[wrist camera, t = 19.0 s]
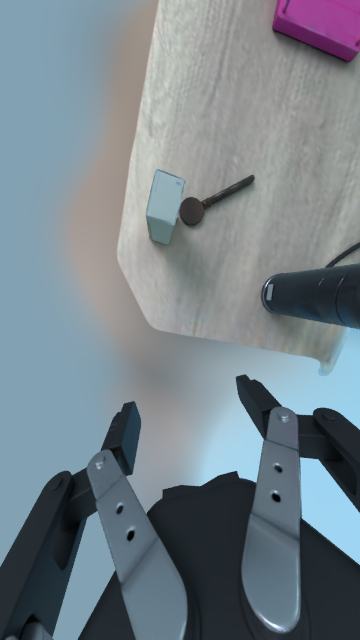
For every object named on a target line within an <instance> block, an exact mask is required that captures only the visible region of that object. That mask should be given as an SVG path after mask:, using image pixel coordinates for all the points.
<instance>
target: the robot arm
mask: <svg viewBox="0 0 360 640" xmlns="http://www.w3.org/2000/svg"><path fill="white" fill-rule="evenodd" d="M359 247H360V242H359V243H358V244H356V245H354V246H353V247H351V248H350V249H348V250H347V251H345V252H344V253H342V254H341V255H339V256H338V257H337V258H335V259H334V260H333V261H332V262H331V263H329V264H328V265H327V266H326V268H322V269H315V270H307V271H300V272H292V273H281V274H276V275H274V276H272V277H271V278H269V279H268V280H267V281H266V283H265V284H264V286H263V289H262V294H261V298H262V302H263V305H264V307H265V308H266V309H267V310H268V311H270V312H272V313H276V314H283V315H288V316H293V317H298V318H303V319H308V320H314V321H319V322H324V323H329V324H335V325H340V326H345V327H350V328H356V329H360V263H358V264H351V265H344V266H337V267H332V266H334V265H335V264H336V263H337V262H338V261H340V260H341V259H342V258H344V257H345V256H347V255H348V254H350V253H351V252H353V251H354V250H356V249H357V248H359ZM236 382H237V390H238V395H239V398H240V401H241V403H242V404H243V406H244V407H245V409H246V411H247V412H248V414H249V416H250V417H251V419H252V421H253V422H254V424H255V426H256V427H257V429H258V431H259V432H260V433H261V436H262V437H263V438H264V441H263V447H262V453H261V460H260V466H259V472H258V478H257V483H255V482H253V481H250V480H247V479H243V478H239V476H238V474H237V471H235V472H230V473H227V474H223V475H219V476H217V477H215V478H214V479H212V480H211V481H209V482H207V483H206V484H204V485H202V486H187V485H179V486H176V487H172V488H168V489H164V490H163V498H162V499H160V500H159V501H158V502H156V503H155V504H154V505H153V506H152V507H151V509H150V510H149V511H148V512H147V514H146V513H145V511H144V509H143V507H142V506H141V504H140V502H139V500H138V498H137V496H136V495H135V493H134V491H133V489H132V487H131V485H130V483H129V482H128V480H127V478H126V476H128V475H132V474H133V468H134V463H135V457H136V451H137V446H138V440H139V434H140V428H141V418H140V415H139V412H138V409H137V407H136V403H135V402H134V401H133V402H129V403H125V404H124V405H123V407H122V410H121V412H118V413H117V414H116V416H115V417H114V418H113V420H112V422H111V426H110V428H109V430H108V433H107V435H106V438H105V440H104V443H103V446H102V448H101V451H100V452H99V453H97V454H96V455H95V456H94V457H93V458H92V459H91V460H90V462H89V464H88V466H87V468H85V469H83V470H81V471H80V472H78V473H76V474H74V475H71V473H70V472H69V471H63V472H60V473H58V474H57V475H55V476H54V477H53V478H52V479H51V480H50V481H49V482H48V483H47V484H46V486H45V487H44V488H43V490H42V492H41V494H40V496H39V497H38V499H37V501H36V503H35V505H34V507H33V508H32V510H31V512H30V514H29V516H28V518H27V519H26V521H25V523H24V525H23V527H22V529H21V530H20V532H19V534H18V536H17V538H16V540H15V541H14V543H13V545H12V547H11V549H10V551H9V552H8V554H7V556H6V558H5V560H4V561H3V563H2V565H1V567H0V640H54V639H53V638H52V636H53V633H54V630H55V626H56V623H57V619H58V616H59V613H60V609H61V606H62V602H63V599H64V596H65V592H66V588H67V585H68V582H69V578H70V575H71V572H72V568H73V565H74V561H75V558H76V555H77V551H78V548H79V544H80V541H81V537H82V534H83V531H84V527H85V524H86V520H87V517H89V516H90V515H92V514H93V513H94V512H96V511H98V514H99V517H100V520H101V523H102V526H103V530H104V533H105V536H106V539H107V543H108V546H109V549H110V552H111V556H112V559H113V562H114V565H115V569H116V570H115V572H114V574H113V575H112V577H111V579H110V581H109V583H108V585H107V586H106V588H105V590H104V592H103V594H102V595H101V597H100V599H99V601H98V603H97V605H96V607H95V608H94V611H93V612H92V614H91V616H90V618H89V619H88V621H87V623H86V625H85V627H84V629H83V630H82V632H81V634H80V636H79V638H78V640H360V565H359V564H358V563H356V562H355V561H354V560H353V559H352V558H350V557H349V556H348V555H347V554H345V553H344V552H343V551H342V550H340V549H339V548H338V547H337V546H335V545H334V544H333V543H332V542H330V541H329V540H328V539H327V538H326V537H324V536H323V535H322V534H321V533H319V532H318V531H317V530H316V529H314V528H313V527H312V526H311V525H310V524H308V523H307V522H306V521H305V520H303V519H302V503H301V477H300V476H301V475H300V474H301V473H300V457H302V458H313V459H319V461H320V462H321V463H322V465H323V466H324V467H325V468H326V470H327V471H328V472H329V474H330V475H331V476H332V477H333V479H334V480H335V481H336V483H337V484H338V485H339V486H340V488H341V489H342V490H343V492H344V493H345V494H346V496H347V497H348V498H349V499H350V501H351V502H352V503H353V505H354V506H355V507H356V508H357V510H358V511H359V512H360V430H359V429H358V428H357V427H356V426H354V425H353V424H352V423H351V422H350V421H348V420H347V419H346V418H345V417H344V416H343V415H341V414H340V413H338V412H337V411H335V410H332V409H328V408H317V409H315V410H314V412H313V415H297V414H295V413H294V412H293V411H292V410H290V409H288V408H285V407H282V406H281V404H279V402H278V401H277V400H276V399H275V398H274V397H273V396H272V395H271V393H269V391H268V390H267V389H266V388H265V387H264V386H263V385H262V383H260V382H258V381H256V380H250V379H249V378H248V376H246V375H241V376H237V377H236Z"/></svg>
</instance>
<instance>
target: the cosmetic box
mask: <svg viewBox="0 0 360 640" xmlns="http://www.w3.org/2000/svg"><path fill="white" fill-rule="evenodd" d="M185 183H186V180H185V179H182V178H180V177H177V176H175V175H172V174H170V173H168V172H165V171H162V170H159V169H156V171H155V175H154V179H153V183H152V187H151V191H150V196H149V201H148V205H147V211H146V219H147V225H148V232H149V238H150V239H152V240H154V241H157V242H160V243H163V244H166V245H169V244H170V240H171V237H172V233H173V230H174V226H175V223H176V219H177V215H178V212H179V208H180V204H181V200H182V196H183V192H184V187H185Z"/></svg>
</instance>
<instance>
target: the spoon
mask: <svg viewBox="0 0 360 640" xmlns="http://www.w3.org/2000/svg"><path fill="white" fill-rule="evenodd" d="M254 179H255V177H254V175H251V176H249V177H247V178H245V179H243V180H241V181H240V182H238V183H236V184H234V185H232V186H230V187H228V188H227V189H225V190H223V191H221V192H219V193H217V194H216V195H214V196H212V197H210V198H207V199H205V200H204V201H202V202H200V201H199V200H198V199H196V198H194V197H189V198H186V199H185V200H184V201H183V202H182V203H181V205H180V209H179V214H180V218H181V219H182V221H183V222H184V223H185V224H187V225H196V224H198V223H199V222H200V221H201V219H202V217H203V214H204V209H206V208H208V207H210V206H211V204H213V203H215V202H217V201H218V200H220V199H222V198H224V197H226V196H228V195H229V194H231V193H233V192H235V191H237V190H239V189H241V188H242V187H244V186H246V185H248V184H250V183H252V182H253V181H254Z"/></svg>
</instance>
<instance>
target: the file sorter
mask: <svg viewBox="0 0 360 640" xmlns="http://www.w3.org/2000/svg"><path fill="white" fill-rule="evenodd" d="M272 27H273V29H274V30H277V31H279V32H282V33H284V34H287V35H289V36H291V37H294V38H296V39H298V40H301V41H303V42H305V43H308V44H310V45H312V46H315V47H317V48H319V49H321V50H324V51H326V52H328V53H331V54H333V55H335V56H338V57H340V58H342V59H344V60H347V61H349V62H351V61H352V60H353V58H354V57H355V56H356V55H357V53H358V52H359V51H360V0H278V2H277V7H276V12H275V17H274V21H273V26H272Z"/></svg>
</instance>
